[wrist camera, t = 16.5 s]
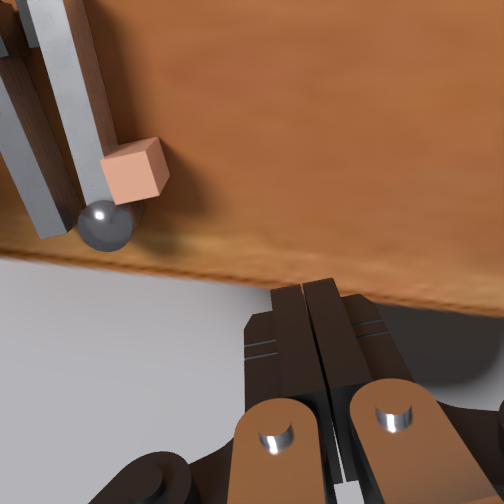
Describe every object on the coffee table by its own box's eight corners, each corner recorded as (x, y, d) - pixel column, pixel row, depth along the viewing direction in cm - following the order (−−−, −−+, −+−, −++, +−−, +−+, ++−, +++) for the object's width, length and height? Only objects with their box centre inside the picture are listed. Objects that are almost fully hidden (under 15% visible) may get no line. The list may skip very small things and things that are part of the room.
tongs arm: (35, -13, 28) (0, -23, 24) (90, -20, 28) (65, -32, 24) (103, 230, 36) (86, 254, 31) (148, 224, 35) (136, 248, 31)
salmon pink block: (118, 144, 33) (99, 161, 28) (158, 136, 33) (145, 150, 28) (131, 183, 34) (115, 205, 29) (169, 175, 34) (159, 195, 29)
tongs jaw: (-31, 6, 29) (-69, 0, 25) (10, -4, 29) (-23, -12, 25) (60, 219, 35) (40, 239, 31) (94, 211, 35) (78, 231, 31)
